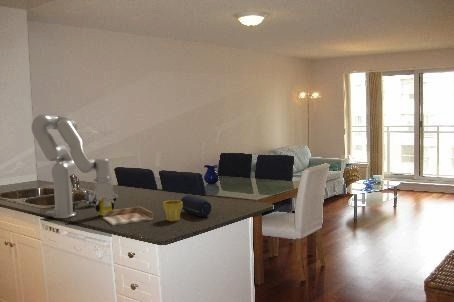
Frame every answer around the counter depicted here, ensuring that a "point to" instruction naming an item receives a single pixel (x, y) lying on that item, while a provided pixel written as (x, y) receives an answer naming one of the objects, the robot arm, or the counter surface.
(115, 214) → the arena
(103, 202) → the supplement box
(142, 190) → the counter surface
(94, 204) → the passion flower
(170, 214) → the plant pot
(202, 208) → the portable speaker
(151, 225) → the counter surface
